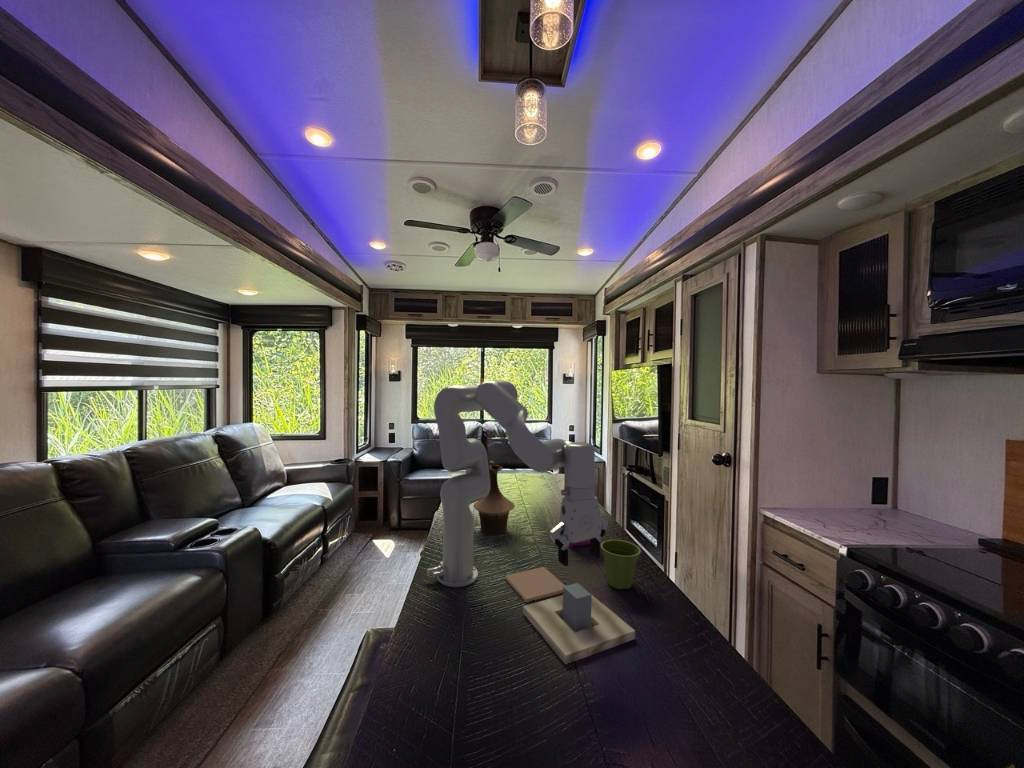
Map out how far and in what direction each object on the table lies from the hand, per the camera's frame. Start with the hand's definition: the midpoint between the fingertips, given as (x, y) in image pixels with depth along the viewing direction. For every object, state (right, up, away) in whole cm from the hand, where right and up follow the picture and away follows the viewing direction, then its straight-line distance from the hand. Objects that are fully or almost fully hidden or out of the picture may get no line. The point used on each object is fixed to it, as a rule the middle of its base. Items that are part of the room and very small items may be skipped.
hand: (579, 559), depth 96 cm
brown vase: (-25, -16, +61) cm, 68 cm away
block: (-1, -17, +1) cm, 17 cm away
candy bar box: (+9, -17, +50) cm, 53 cm away
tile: (-10, -16, +19) cm, 27 cm away
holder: (-1, -17, +1) cm, 17 cm away
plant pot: (+16, -17, +21) cm, 31 cm away
